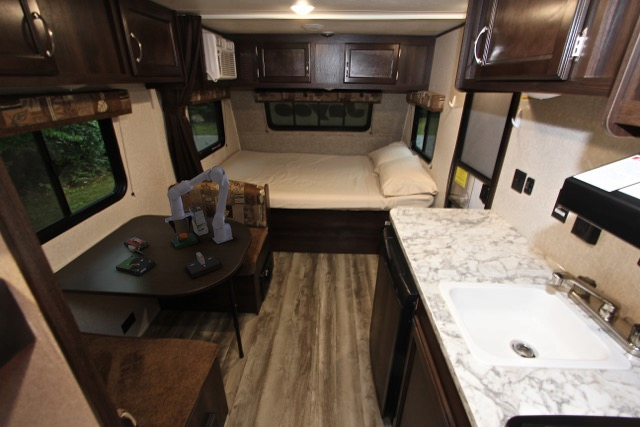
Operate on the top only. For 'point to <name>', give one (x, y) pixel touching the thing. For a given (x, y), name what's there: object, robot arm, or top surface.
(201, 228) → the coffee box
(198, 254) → the pale grey block
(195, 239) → the control block
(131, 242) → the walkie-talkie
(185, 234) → the button
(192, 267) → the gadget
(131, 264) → the disk drive
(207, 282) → the top surface
